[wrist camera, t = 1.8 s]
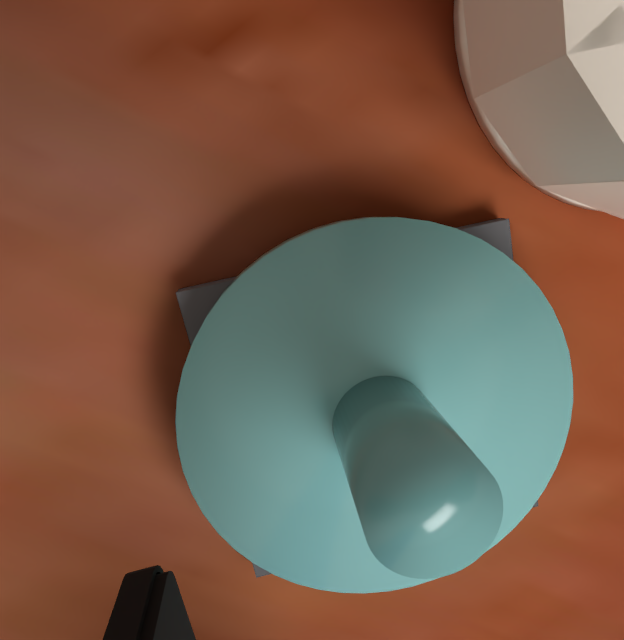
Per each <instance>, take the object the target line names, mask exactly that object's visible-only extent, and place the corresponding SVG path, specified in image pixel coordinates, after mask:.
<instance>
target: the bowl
mask: <svg viewBox="0 0 624 640" xmlns="http://www.w3.org/2000/svg"><path fill="white" fill-rule="evenodd" d="M453 20H454V37H455V49H456V54H457V60H458V66H459V71H460V76H461V79H462V83H463V86H464V89H465V92H466V96H467V99H468V102H469V104H470V106H471V108H472V111H473V113H474V115H475V117H476V119H477V122H478V124H479V126H480V127H481V129H482V131H483V132H484V134H485V136H486V137H487V139H488V140H489V142H490V144H491V145H492V147H493V148H494V149H495V150H496V152H497V153H498V154H499V155H500V156H501V158H502V159H503V160H504V161H505V162H506V164H507V165H508V166H509V167H510V168H511V169H513V170H514V171H515V172H516V173H517V174H518V175H519V176H520V177H521V178H523V179H524V180H525V181H526V182H528V183H529V184H531V185H532V186H534V187H535V188H537V189H538V190H540V191H541V192H543V193H544V194H546V195H548V196H551V197H553V198H555V199H557V200H559V201H561V202H563V203H566V204H570V205H573V206H576V207H580V208H583V209H588V210H595V211H603V212H606V213H608V214H611V215H614V216H616V217H619V218H622V219H624V0H454V13H453Z"/></svg>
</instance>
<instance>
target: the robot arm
mask: <svg viewBox="0 0 624 640" xmlns="http://www.w3.org/2000/svg"><path fill="white" fill-rule="evenodd" d="M103 640H196V639H195V636H194V633H193V630H192V627H191V624H190V621H189V618H188V615H187V612H186V609H185V606H184V603H183V600H182V597H181V594H180V591H179V588H178V585H177V582H176V579H175V576H174V574H173V572H172V571H168V572H163V570H162V568H161V567H160V566H158V565H157V566H153V567H149V568H145V569H141V570H138V571H134V572H130V573H127V574H126V575H125V577H124V579H123V581H122V584H121V587H120V590H119V593H118V596H117V599H116V602H115V605H114V608H113V611H112V614H111V617H110V620H109V623H108V626H107V629H106V632H105V635H104V638H103Z"/></svg>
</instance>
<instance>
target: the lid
mask: <svg viewBox="0 0 624 640" xmlns="http://www.w3.org/2000/svg"><path fill="white" fill-rule="evenodd" d="M572 405H573V375H572V368H571V361H570V354H569V350H568V347H567V344H566V340H565V337H564V333H563V330H562V328H561V326H560V324H559V321H558V319H557V317H556V315H555V313H554V310H553V308H552V307H551V305H550V304H549V302H548V301H547V299H546V298H545V296H544V294H543V293H542V291H541V290H540V288H539V287H538V286H537V285H536V284H535V283H534V281H533V280H532V279H531V278H530V277H529V276H528V275H527V273H526V272H525V271H524V270H523V269H522V268H521V267H520V266H518V265H517V264H516V263H515V262H514V261H512V260H511V259H510V258H509V257H508V256H506V255H505V254H504V253H503V252H501V251H500V250H498V249H496V248H495V247H493V246H491V245H490V244H488V243H487V242H485V241H483V240H482V239H480V238H477V237H475V236H473V235H471V234H468V233H466V232H464V231H461V230H459V229H457V228H453V227H449V226H446V225H442V224H438V223H435V222H431V221H425V220H417V219H409V218H401V217H361V218H355V219H348V220H341V221H336V222H333V223H330V224H326V225H323V226H319V227H316V228H312V229H310V230H308V231H305V232H303V233H301V234H299V235H296V236H294V237H292V238H290V239H287V240H286V241H284V242H282V243H281V244H279V245H277V246H276V247H274V248H272V249H271V250H269V251H268V252H266V253H264V254H263V255H262V256H260V257H259V258H258V259H257V260H255V261H254V262H253V263H252V264H251V265H249V266H248V267H247V268H246V269H244V270H243V271H242V272H241V273H240V274H239V275H238V276H237V277H236V278H235V279H234V281H233V282H232V283H231V284H230V285H229V286H228V287H227V288H226V289H225V290H224V291H223V293H222V294H221V295H220V297H219V298H218V300H217V301H216V302H215V304H214V305H213V307H212V308H211V309H210V311H209V312H208V314H207V316H206V318H205V320H204V322H203V323H202V325H201V327H200V329H199V331H198V333H197V335H196V337H195V339H194V341H193V343H192V346H191V348H190V351H189V354H188V357H187V359H186V362H185V365H184V368H183V370H182V375H181V380H180V385H179V389H178V394H177V405H176V421H175V423H176V435H177V447H178V452H179V456H180V460H181V465H182V469H183V472H184V475H185V478H186V480H187V483H188V485H189V488H190V490H191V493H192V495H193V497H194V498H195V500H196V502H197V504H198V505H199V507H200V509H201V511H202V513H203V514H204V516H205V517H206V518H207V520H208V521H209V522H210V523H211V525H212V526H213V527H214V529H215V530H216V531H217V532H218V534H219V535H220V536H221V537H222V538H224V539H225V540H226V541H227V542H228V543H229V544H230V545H231V546H232V547H233V548H234V549H235V550H236V551H237V552H239V553H240V554H242V555H243V556H244V557H246V558H247V559H248V560H250V561H251V562H252V563H254V564H255V565H257V566H259V567H261V568H263V569H264V570H266V571H268V572H270V573H272V574H274V575H276V576H278V577H281V578H283V579H286V580H288V581H291V582H293V583H296V584H300V585H303V586H307V587H311V588H315V589H319V590H326V591H333V592H340V593H374V592H385V591H392V590H397V589H402V588H407V587H412V586H415V585H419V584H422V583H425V582H428V581H431V580H434V579H437V578H439V577H444V576H447V575H450V574H453V573H455V572H458V571H460V570H462V569H464V568H465V567H467V566H469V565H470V564H472V563H473V562H474V561H476V560H477V559H478V558H479V557H480V556H481V555H482V554H483V553H485V552H486V551H488V550H489V549H490V548H492V547H493V546H494V545H496V544H497V543H498V542H499V541H501V540H502V539H503V538H504V537H505V536H506V535H507V534H508V533H509V532H510V531H512V530H513V529H514V528H515V527H516V526H517V524H518V523H519V522H520V521H521V520H522V519H523V518H524V517H525V515H526V514H527V513H528V512H529V511H530V510H531V508H532V507H533V505H534V504H535V503H536V501H537V500H538V498H539V497H540V495H541V494H542V493H543V491H544V490H545V488H546V486H547V484H548V482H549V480H550V478H551V477H552V475H553V473H554V471H555V469H556V467H557V464H558V462H559V459H560V457H561V454H562V451H563V449H564V446H565V442H566V438H567V434H568V431H569V427H570V421H571V413H572Z"/></svg>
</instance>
